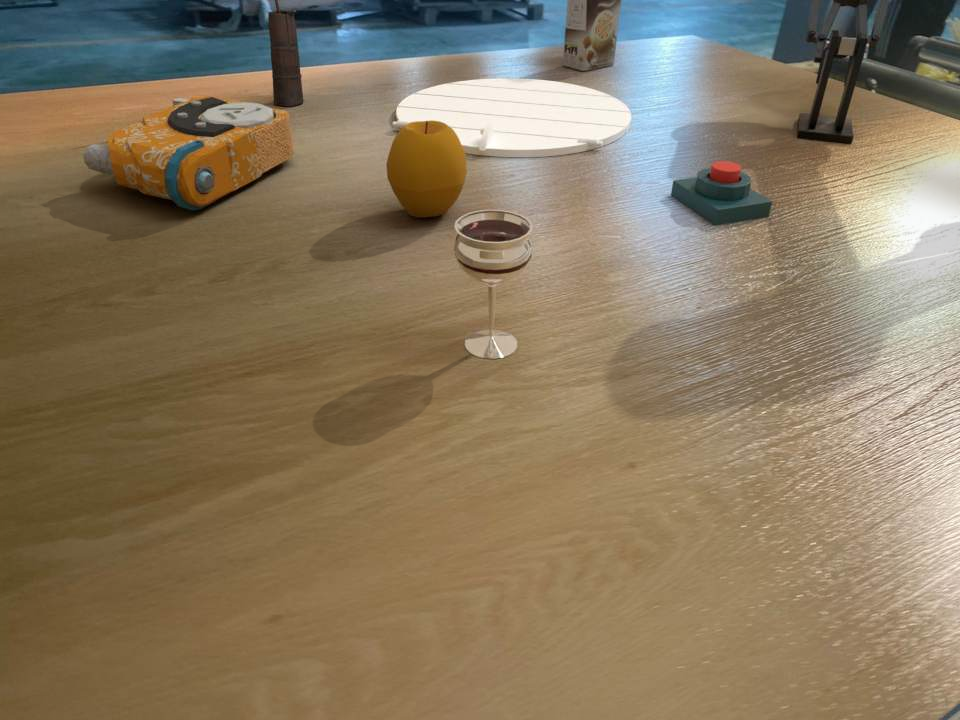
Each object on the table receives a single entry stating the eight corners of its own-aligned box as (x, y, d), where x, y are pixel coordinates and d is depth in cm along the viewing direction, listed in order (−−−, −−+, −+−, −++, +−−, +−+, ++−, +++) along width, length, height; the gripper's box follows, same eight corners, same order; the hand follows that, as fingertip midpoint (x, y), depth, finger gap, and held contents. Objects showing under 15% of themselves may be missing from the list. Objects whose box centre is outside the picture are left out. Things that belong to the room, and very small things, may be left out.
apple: (425, 238, 90) (421, 140, 83) (372, 214, 95) (365, 120, 88) (482, 214, 95) (483, 120, 89) (429, 192, 101) (427, 103, 94)
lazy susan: (614, 171, 108) (617, 147, 106) (357, 144, 116) (355, 122, 114) (640, 94, 140) (643, 74, 138) (437, 77, 148) (437, 59, 146)
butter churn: (333, 100, 135) (315, -82, 119) (294, 114, 128) (270, -77, 112) (296, 92, 139) (273, -85, 123) (256, 104, 132) (227, -81, 116)
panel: (768, 217, 95) (776, 187, 93) (714, 226, 93) (720, 195, 91) (721, 188, 103) (727, 159, 101) (670, 196, 101) (675, 167, 98)
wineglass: (493, 316, 75) (496, 203, 68) (542, 345, 71) (550, 227, 64) (440, 341, 72) (437, 223, 65) (488, 373, 67) (490, 251, 61)
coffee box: (584, 72, 152) (591, -17, 143) (561, 65, 156) (567, -21, 147) (615, 65, 157) (624, -21, 148) (592, 59, 161) (600, -25, 152)
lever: (825, 58, 127) (830, 35, 126) (848, 60, 126) (854, 37, 125) (831, 58, 116) (837, 32, 114) (856, 60, 115) (863, 34, 113)
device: (39, 130, 95) (204, 74, 118) (59, 193, 100) (214, 127, 122) (179, 158, 87) (327, 92, 110) (194, 224, 92) (333, 148, 115)
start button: (744, 182, 95) (747, 169, 94) (720, 186, 94) (722, 172, 93) (727, 172, 98) (729, 159, 97) (703, 176, 97) (705, 162, 96)
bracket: (797, 119, 128) (821, 25, 120) (848, 125, 126) (876, 29, 118) (797, 138, 120) (821, 38, 112) (851, 144, 118) (880, 43, 110)
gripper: (906, -29, 128) (883, 98, 125) (802, -34, 133) (776, 87, 130) (921, -61, 121) (896, 72, 118) (810, -66, 126) (783, 62, 123)
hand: (833, 80), depth 124 cm, fingers closed on lever, 4 cm apart
